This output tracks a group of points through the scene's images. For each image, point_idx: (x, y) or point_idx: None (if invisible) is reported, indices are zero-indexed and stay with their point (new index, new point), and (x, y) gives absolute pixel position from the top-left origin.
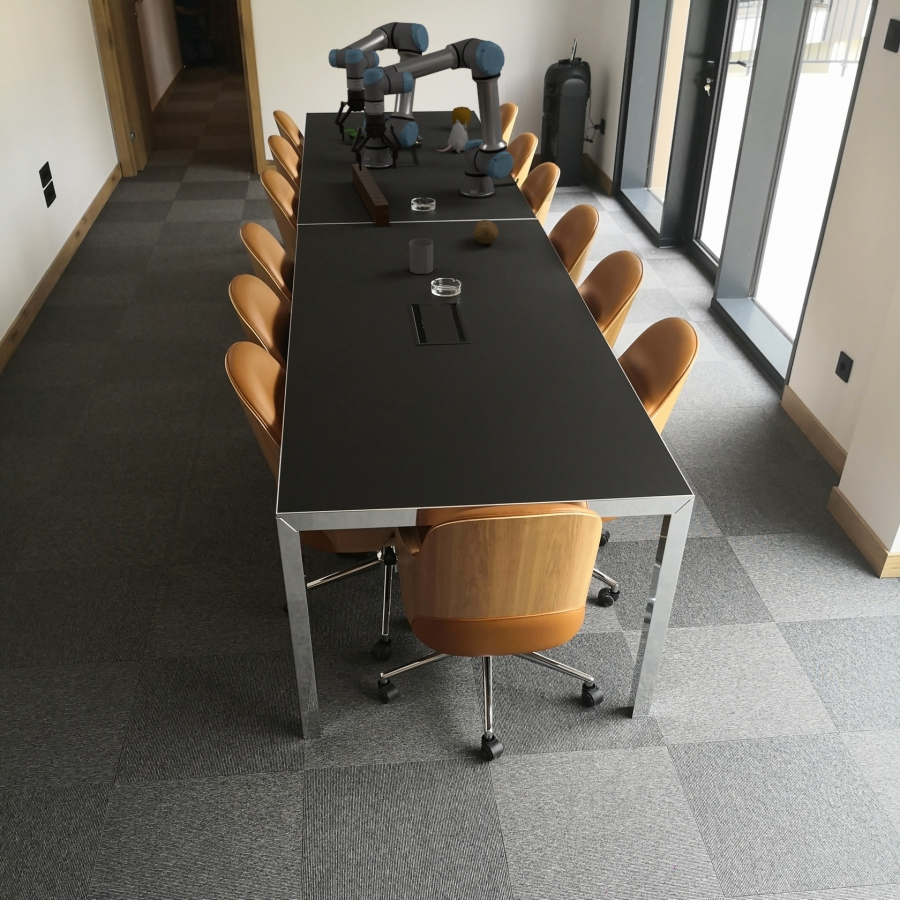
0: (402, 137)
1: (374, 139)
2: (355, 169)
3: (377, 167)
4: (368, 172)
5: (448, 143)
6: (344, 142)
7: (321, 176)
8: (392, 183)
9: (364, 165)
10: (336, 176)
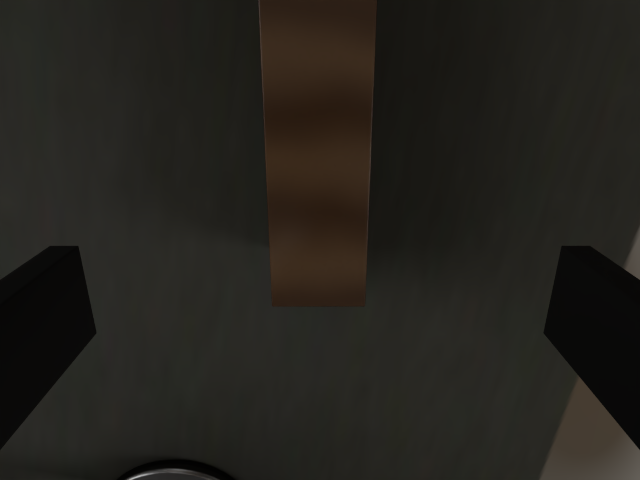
0: None
1: (58, 248)
2: (366, 144)
3: (184, 466)
4: (266, 6)
5: None
6: None
7: (496, 403)
8: (112, 189)
9: (273, 250)
10: (419, 388)
